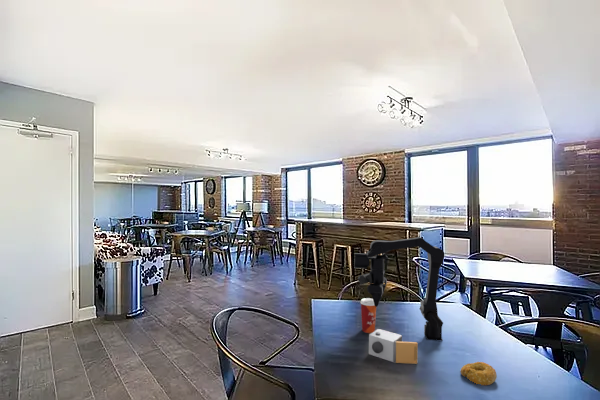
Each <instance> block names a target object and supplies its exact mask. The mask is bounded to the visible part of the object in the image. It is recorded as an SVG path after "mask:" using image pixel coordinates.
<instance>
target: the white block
mask: <svg viewBox="0 0 600 400" xmlns="http://www.w3.org/2000/svg"><path fill="white" fill-rule="evenodd" d="M394 341H401V342H403V335H401V334H398V333H395V332H392V331H388V330H384V329H380V328H376V329H375V331H374V332H373V333H369V334H368V355H370V356H374V357H377V358H378V359H383V360H386V361H387V362H388V361H389V362H392V363H394Z"/></svg>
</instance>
